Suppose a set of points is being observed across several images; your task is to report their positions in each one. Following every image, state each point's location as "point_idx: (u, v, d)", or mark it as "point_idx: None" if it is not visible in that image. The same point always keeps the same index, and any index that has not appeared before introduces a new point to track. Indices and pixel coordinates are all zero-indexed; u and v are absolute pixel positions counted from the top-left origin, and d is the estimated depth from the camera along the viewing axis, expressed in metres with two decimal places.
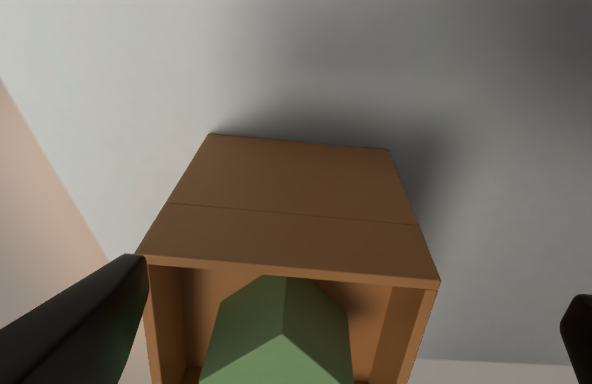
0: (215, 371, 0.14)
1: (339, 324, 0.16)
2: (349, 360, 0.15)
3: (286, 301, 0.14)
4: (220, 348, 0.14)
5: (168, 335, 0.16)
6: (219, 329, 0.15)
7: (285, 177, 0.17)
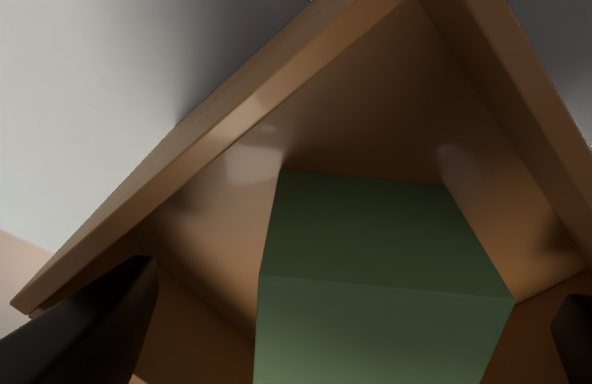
0: None
1: (427, 205, 0.08)
2: (474, 246, 0.07)
3: (273, 223, 0.07)
4: None
5: (214, 380, 0.10)
6: None
7: (229, 83, 0.11)
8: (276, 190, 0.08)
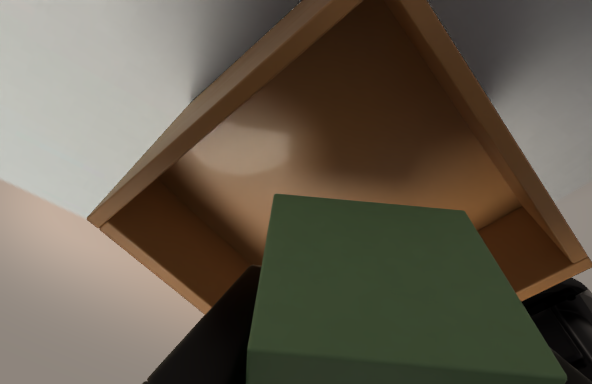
0: None
1: (448, 240, 0.07)
2: (507, 296, 0.06)
3: (266, 269, 0.06)
4: None
5: None
6: None
7: (240, 63, 0.14)
8: (270, 223, 0.07)
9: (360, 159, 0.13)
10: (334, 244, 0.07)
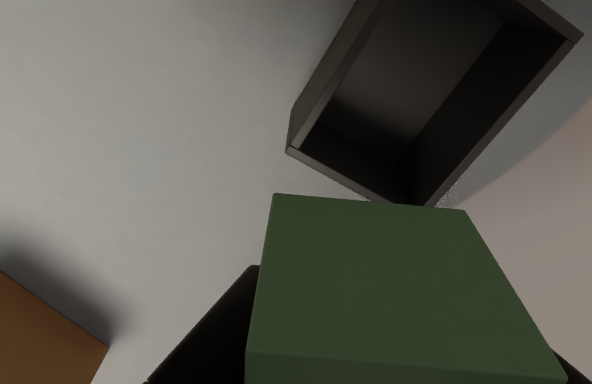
0: None
1: (447, 240, 0.07)
2: (507, 296, 0.06)
3: (265, 269, 0.06)
4: None
5: None
6: None
7: None
8: (269, 222, 0.07)
9: None
10: (333, 244, 0.07)
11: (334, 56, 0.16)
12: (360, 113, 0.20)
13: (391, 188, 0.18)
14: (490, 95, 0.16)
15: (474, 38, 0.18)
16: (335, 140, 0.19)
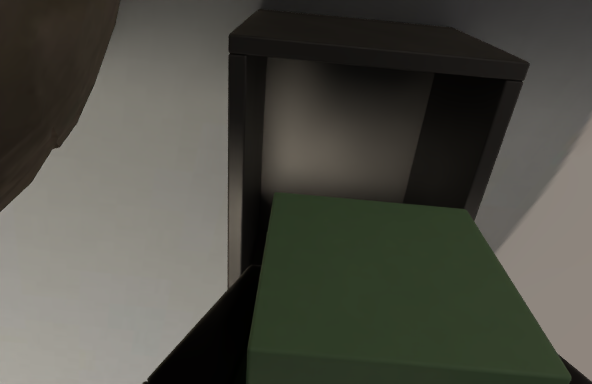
0: None
1: (449, 238, 0.07)
2: (510, 295, 0.06)
3: (267, 268, 0.06)
4: None
5: None
6: None
7: None
8: (270, 221, 0.07)
9: None
10: (335, 243, 0.07)
11: None
12: None
13: None
14: (450, 162, 0.12)
15: (413, 75, 0.14)
16: None
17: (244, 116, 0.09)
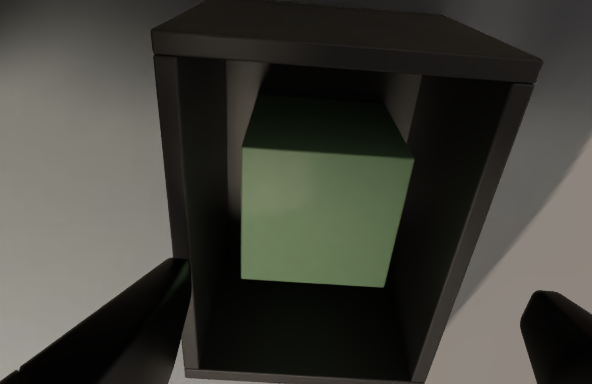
0: None
1: (367, 114, 0.11)
2: (395, 134, 0.10)
3: (252, 122, 0.10)
4: None
5: None
6: None
7: None
8: (254, 106, 0.11)
9: None
10: (294, 114, 0.11)
11: None
12: None
13: (369, 334, 0.12)
14: (443, 178, 0.10)
15: (399, 73, 0.12)
16: None
17: (181, 133, 0.07)
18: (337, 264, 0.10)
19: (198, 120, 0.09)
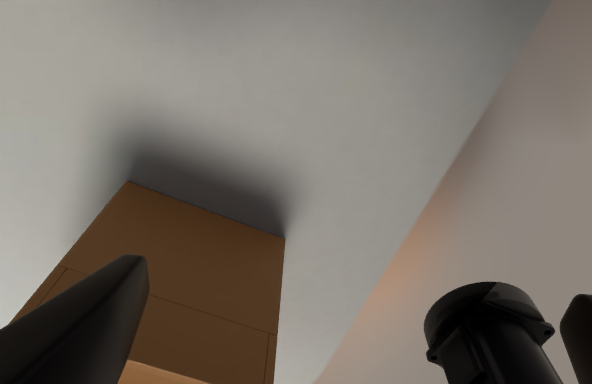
0: None
1: None
2: None
3: None
4: None
5: None
6: None
7: None
8: None
9: None
10: None
11: None
12: None
13: None
14: None
15: None
16: None
17: None
18: None
19: None
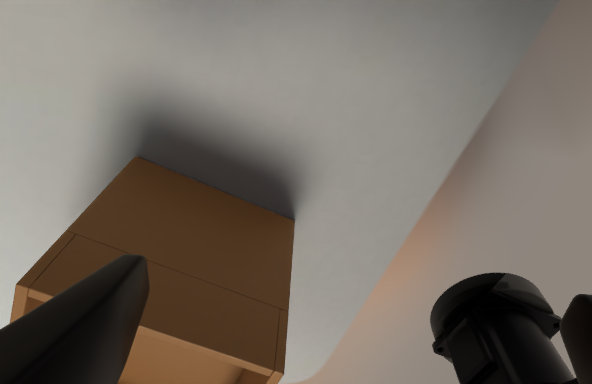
0: None
1: None
2: None
3: None
4: None
5: None
6: None
7: None
8: None
9: None
10: None
11: None
12: None
13: None
14: None
15: None
16: None
17: None
18: None
19: None
